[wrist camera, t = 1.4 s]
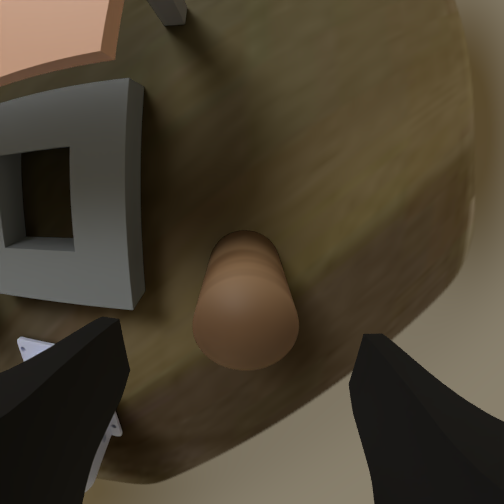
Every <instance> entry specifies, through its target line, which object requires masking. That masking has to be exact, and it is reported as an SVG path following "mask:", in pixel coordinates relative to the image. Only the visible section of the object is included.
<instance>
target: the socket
mask: <svg viewBox="0 0 504 504" xmlns="http://www.w3.org/2000/svg"><path fill="white" fill-rule="evenodd" d="M143 96H144V86H142V85H140V84H139V83H137V82H135V81H134V80H132V79H130V78H124V79H116V80H108V81H100V82H93V83H87V84H81V85H75V86H70V87H64V88H59V89H54V90H50V91H45V92H41V93H36V94H32V95H28V96H24V97H20V98H17V99H13V100H9V101H6V102H3V103H0V293H2V294H8V295H14V296H21V297H27V298H34V299H41V300H48V301H55V302H63V303H71V304H79V305H88V306H97V307H106V308H116V309H127V310H134V308H135V306H136V305H137V303H138V302H139V300H140V298H141V297H142V295H143V294H144V292H145V281H144V267H143V251H142V230H141V132H142V112H143ZM67 147H70V196H71V213H72V226H73V237H74V238H55V237H26V229H25V220H24V209H23V196H22V176H21V153H26V152H33V151H41V150H49V149H58V148H67Z"/></svg>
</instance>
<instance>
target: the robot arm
mask: <svg viewBox="0 0 504 504" xmlns="http://www.w3.org/2000/svg"><path fill="white" fill-rule="evenodd" d="M17 343H18V346H19V349H20V352H21V355H22V357H23V360H24V362H23V363H21V364H19V365H17V366H15V367H13V368H11V369H9V370H6V371H4V372H2V373H0V504H82V502H83V497H84V493H85V492H86V491H88V489H90V488H91V486H92V485H93V483H94V481H95V479H96V476H97V473H98V470H99V468H100V465H101V462H102V459H103V457H104V454H105V451H106V448H107V446H108V443H109V440H110V438H111V435H113V436H121V435H122V433H123V432H122V429H121V426H120V423H119V420H118V417H117V413H116V408H117V406H118V404H119V402H120V400H121V398H122V395H123V392H124V389H125V386H126V382H127V379H128V376H129V372H130V368H129V363H128V359H127V354H126V350H125V345H124V340H123V335H122V330H121V325H120V320H119V319H115V318H108V317H100V318H98V319H96V320H94V321H93V322H91V323H89V324H87V325H86V326H84V327H82V328H81V329H79V330H77V331H76V332H74V333H73V334H71V335H69V336H68V337H66V338H64V339H63V340H61V341H59V342H58V343H56V344H53V343H48V342H43V341H39V340H34V339H29V338H25V337H19V338H18V339H17ZM349 390H350V397H351V403H352V409H353V414H354V418H355V421H356V425H357V428H358V432H359V435H360V439H361V442H362V446H363V449H364V453H365V456H366V460H367V463H368V467H369V471H370V476H371V480H372V486H373V494H374V503H375V504H504V422H503V421H501V420H499V419H497V418H495V417H493V416H491V415H490V414H488V413H486V412H484V411H483V410H481V409H480V408H478V407H476V406H475V405H473V404H471V403H470V402H468V401H467V400H465V399H464V398H462V397H461V396H459V395H458V394H456V393H455V392H454V391H452V390H451V389H450V388H448V387H447V386H446V385H444V384H443V383H442V382H440V381H439V380H438V379H437V378H435V377H434V376H433V375H432V374H430V373H429V372H428V371H427V370H426V369H424V368H423V367H422V366H421V365H420V364H418V363H417V362H416V361H415V360H414V359H412V358H411V357H410V356H409V355H408V354H407V353H405V352H404V351H403V350H402V349H401V348H400V347H398V346H397V345H396V344H395V343H394V342H392V341H391V340H390V339H389V338H387V337H386V336H385V335H383V334H363V338H362V342H361V345H360V349H359V352H358V356H357V359H356V362H355V366H354V369H353V372H352V375H351V379H350V382H349Z"/></svg>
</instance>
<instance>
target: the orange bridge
mask: <svg viewBox="0 0 504 504" xmlns="http://www.w3.org/2000/svg"><path fill="white" fill-rule="evenodd" d="M147 1H148V3H149V4H150V6H151V7H152V9H153V10H154V11H155V13H156V14H157V16H158V17H159V19H160V20H161V22H162V23H163V25H164V26H168V25H183V24H185V21H186V13H187V6H186V3H185V1H184V0H147ZM123 5H124V0H0V87H1V86H4V85H7V84H10V83H13V82H16V81H20V80H23V79H27V78H30V77H34V76H37V75H41V74H45V73H49V72H53V71H58V70H62V69H67V68H71V67H76V66H81V65H87V64H92V63H98V62H105V61H111V60H115V55H116V48H117V41H118V34H119V27H120V21H121V16H122V10H123Z"/></svg>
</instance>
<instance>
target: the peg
mask: <svg viewBox="0 0 504 504" xmlns="http://www.w3.org/2000/svg"><path fill="white" fill-rule="evenodd" d="M298 332H299V318H298V314H297V311H296V308H295V305H294V302H293V298H292V295H291V292H290V289H289V286H288V283H287V280H286V277H285V274H284V270H283V267H282V264H281V261H280V258H279V255H278V252H277V250H276V248H275V246H274V245H273V244H272V242H271V241H270V240H269V239H268V238H266V237H265V236H263V235H261V234H259V233H257V232H253V231H236V232H233V233H230V234H228V235H226V236H225V237H223V238H222V239H221V240H220V241H219V242H218V243H217V244H216V245H215V247H214V249H213V251H212V253H211V256H210V260H209V263H208V267H207V270H206V274H205V277H204V281H203V284H202V288H201V291H200V295H199V299H198V302H197V306H196V309H195V313H194V317H193V334H194V338H195V340H196V343H197V345H198V346H199V348H200V349H201V351H202V352H203V353H204V354H205V355H206V356H207V357H208V358H209V359H211V360H212V361H214V362H215V363H217V364H219V365H221V366H224V367H226V368H230V369H234V370H243V371H247V370H257V369H261V368H265V367H268V366H270V365H272V364H274V363H276V362H278V361H279V360H281V359H282V358H283V357H284V356H285V355H286V354H287V353H288V352H289V351H290V350H291V348H292V347H293V345H294V344H295V342H296V339H297V336H298Z"/></svg>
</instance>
